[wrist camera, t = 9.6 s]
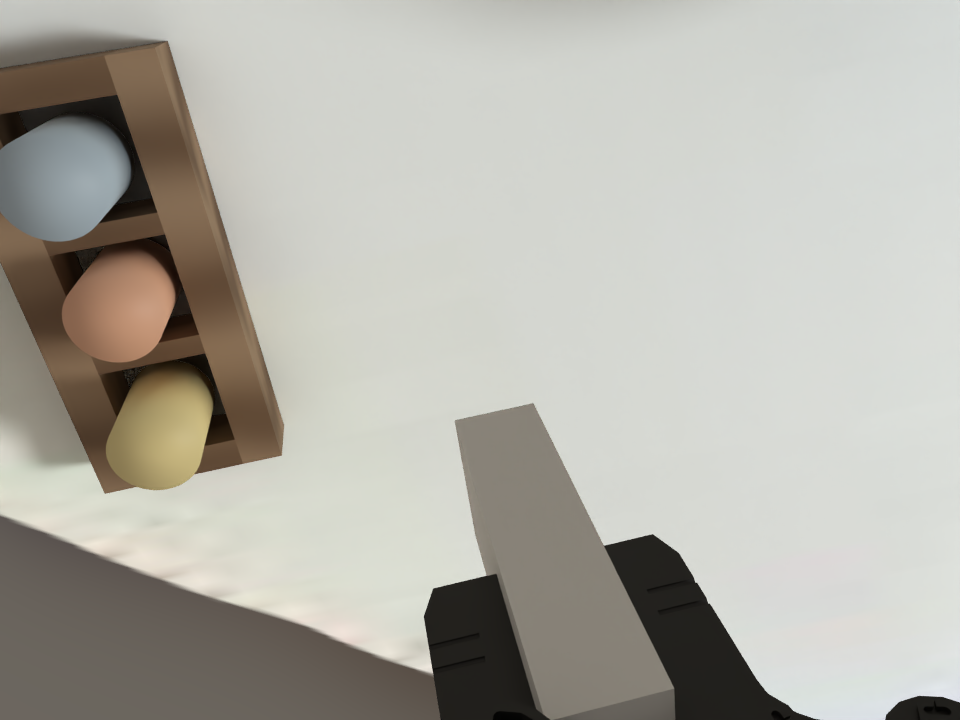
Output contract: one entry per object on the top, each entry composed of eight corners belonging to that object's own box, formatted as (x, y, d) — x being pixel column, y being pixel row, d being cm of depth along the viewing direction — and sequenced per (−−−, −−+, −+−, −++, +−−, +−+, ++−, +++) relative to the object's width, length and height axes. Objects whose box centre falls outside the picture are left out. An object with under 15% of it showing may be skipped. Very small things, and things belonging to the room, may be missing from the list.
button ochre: (119, 369, 38) (91, 424, 34) (201, 352, 39) (185, 405, 34) (146, 437, 40) (124, 498, 36) (224, 420, 41) (212, 479, 36)
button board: (-48, 76, 33) (-79, 85, 31) (167, 41, 34) (155, 47, 31) (118, 461, 43) (105, 493, 40) (283, 425, 43) (281, 455, 41)
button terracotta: (80, 245, 37) (46, 286, 32) (167, 229, 37) (145, 267, 33) (111, 322, 39) (82, 370, 34) (192, 306, 39) (176, 352, 34)
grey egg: (19, 120, 33) (-30, 146, 28) (116, 104, 33) (83, 126, 29) (56, 212, 35) (15, 250, 30) (147, 195, 35) (121, 230, 31)
